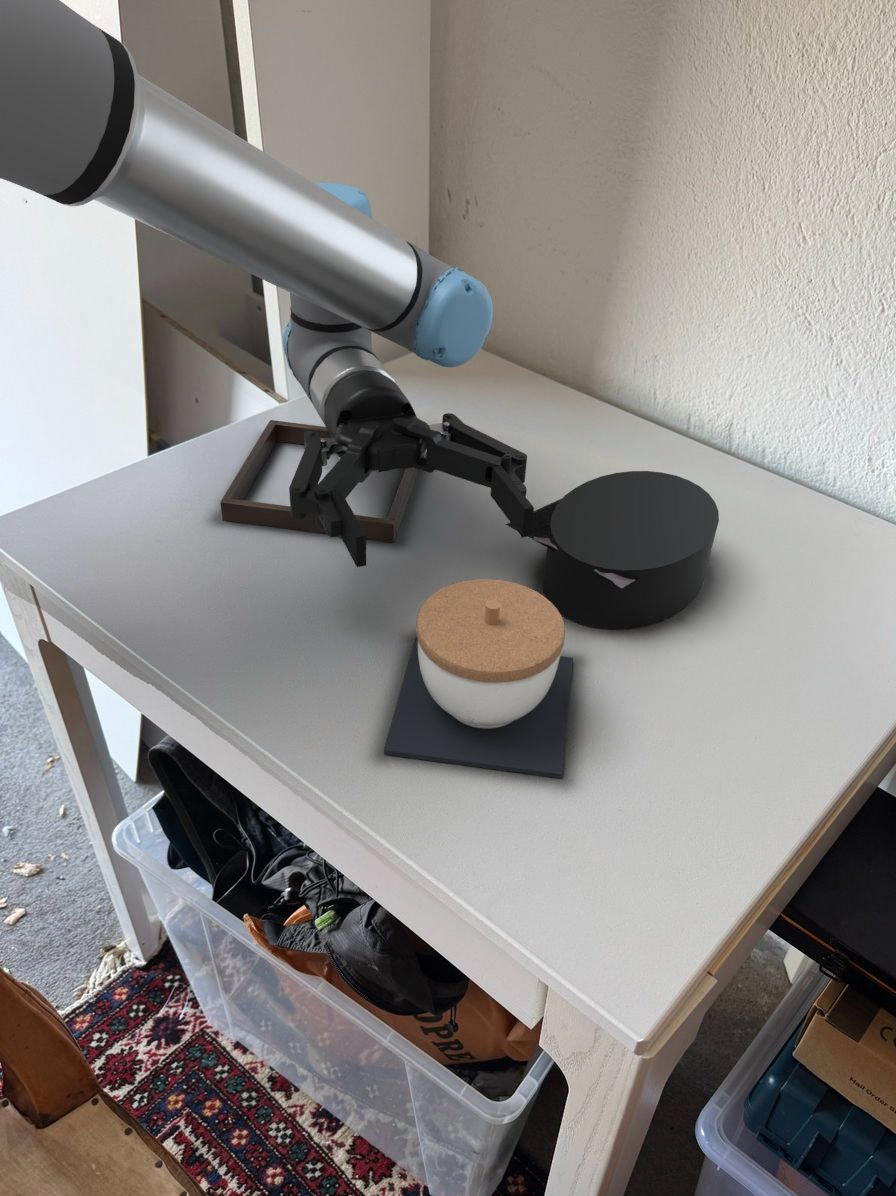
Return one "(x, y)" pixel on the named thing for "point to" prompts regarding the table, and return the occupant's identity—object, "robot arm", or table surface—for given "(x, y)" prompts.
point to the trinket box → (488, 650)
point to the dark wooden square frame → (280, 514)
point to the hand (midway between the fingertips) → (447, 537)
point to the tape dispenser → (626, 548)
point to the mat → (481, 729)
